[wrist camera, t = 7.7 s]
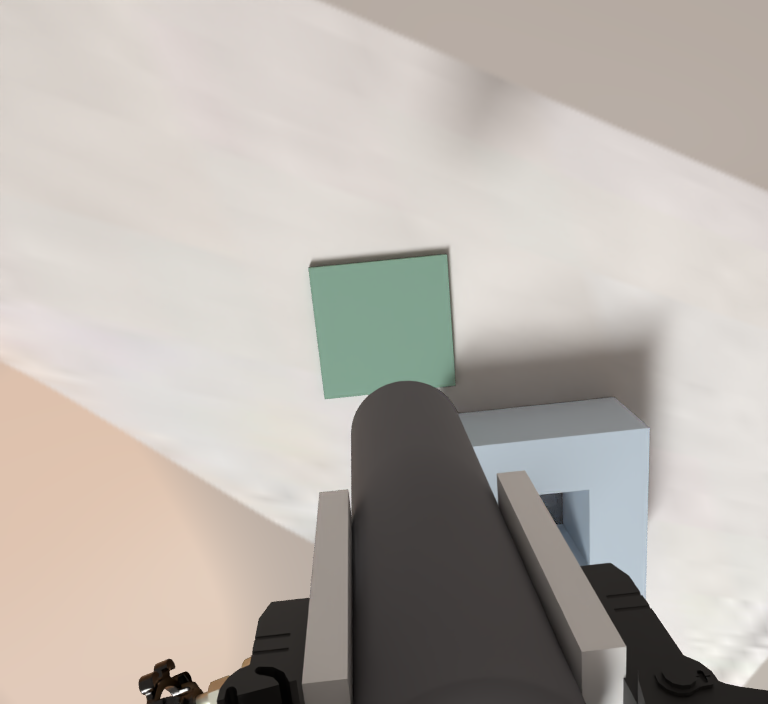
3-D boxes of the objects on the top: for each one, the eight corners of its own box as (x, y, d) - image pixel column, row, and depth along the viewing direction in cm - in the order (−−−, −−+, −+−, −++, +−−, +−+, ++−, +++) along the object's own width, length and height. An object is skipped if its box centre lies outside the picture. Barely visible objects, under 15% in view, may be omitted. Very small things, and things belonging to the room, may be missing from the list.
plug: (345, 386, 23) (339, 694, 10) (457, 375, 23) (607, 663, 10) (357, 488, 24) (366, 892, 11) (464, 477, 24) (607, 862, 11)
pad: (308, 267, 38) (308, 268, 37) (446, 253, 38) (447, 254, 37) (324, 396, 40) (324, 399, 39) (454, 383, 40) (455, 385, 40)
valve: (314, 578, 43) (154, 642, 44) (308, 648, 37) (120, 722, 38) (354, 652, 45) (199, 713, 46) (354, 732, 39) (174, 800, 40)
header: (424, 417, 40) (434, 450, 36) (614, 397, 41) (649, 427, 36) (437, 582, 44) (448, 633, 39) (613, 562, 44) (645, 610, 39)
